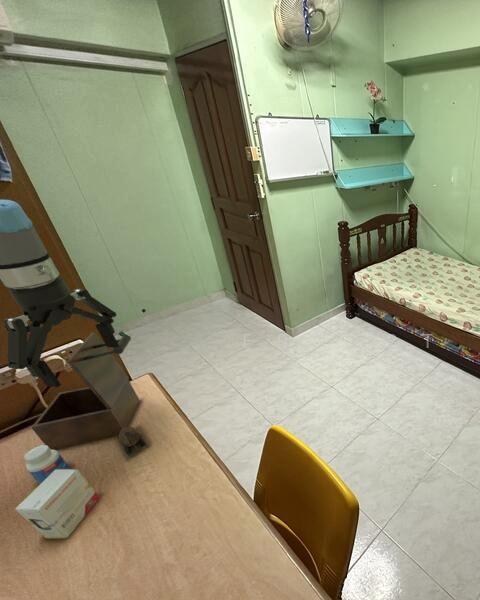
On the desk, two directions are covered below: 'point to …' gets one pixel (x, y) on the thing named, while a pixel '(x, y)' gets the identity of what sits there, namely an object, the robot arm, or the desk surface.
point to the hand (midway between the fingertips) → (86, 364)
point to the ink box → (58, 503)
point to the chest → (84, 417)
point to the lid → (100, 368)
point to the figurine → (132, 441)
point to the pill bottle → (43, 462)
